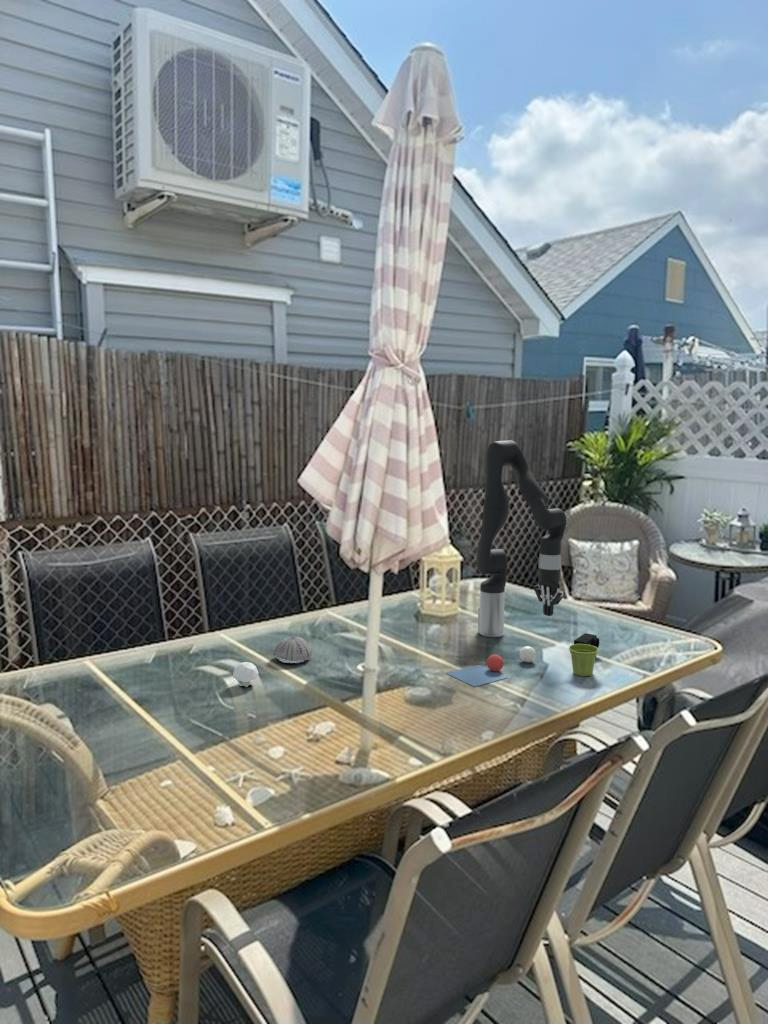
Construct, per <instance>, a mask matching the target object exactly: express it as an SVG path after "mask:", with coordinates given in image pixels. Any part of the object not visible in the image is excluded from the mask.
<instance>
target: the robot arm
mask: <svg viewBox="0 0 768 1024" xmlns="http://www.w3.org/2000/svg"><path fill="white" fill-rule="evenodd" d="M485 459H486V462H485V463H486V465H485V466H486V468H485V469H486V476H485V477H486V478H485V480H486V481H485V490H484V491H485V494H484V500H483V510H482V521H481V533H480V538H479V543H478V547H477V553H476V561H475V563H476V569H477V571H478V573H479V574H481V575H489V574H491V575H490V576H489V578H487V579H485V580H484V581H482V582H481V583H480V588H479V589H480V591H479V592H480V595H479V596H480V597H479V608H478V609H477V612H478V613H477V632H478V633H479V635H481V636H482V637H485V638H486V637H487V638H500V637H503V636H504V632H505V592H506V591H505V589H506V588H505V587H506V584H507V573H508V556H507V552H506V551H505V550H504V549H503V548H492V546H493V543H494V540H495V539H496V537H497V536H498V533H500V531H501V530H502V529H503V527H504V526H505V524H506V522H507V521H508V516H509V507H510V500H509V496H508V494H507V491H506V489H505V487H504V484H503V481H502V480H503V479H502V478H503V477H502V475H503V468H504V467H509V466H510V467H511V468H512V469H513V470H514V471H515V473H516V475H517V479H518V489H519V493H520V495H521V496H522V498H523V499H524V500H525V502H526V503H527V506H528V507H530V511H531V513H532V517H533V519H534V522H535V524H536V525H537V526H538V528H539V529H541V530H543V531H547V533H546V534H545V535H544V536H542V537H541V538H540V541H539V558H538V572H537V573H538V575H537V578H538V580H539V581H538V584H536V585H533V590H534V592H535V596H536V597H537V600H538V602H540V603H542V605H543V608H542V611H543V615H544V616H547V617H552V616H553V615H554V607H555V606H556V605H559V604H560V602H561V601H562V599H563V598H564V597H565V595H566V592H565V591H564V590H563V591H562V590H561V585H560V581H561V577H562V573H561V572H562V556H561V554H562V553H561V552H562V550H561V549H562V540H563V537H564V534H565V530H566V526H567V516H566V513H565V512H564V510H563V509H561V508H557V507H556V508H549V509H548V508H547V505H548V504H549V503H550V501H549V500H550V499H549V497H548V495H547V493H546V492H545V490H544V489H543V488H542V486H541V485H540V484H539V483H538V481H537V479H536V478H535V476H534V474H533V472H532V470H531V468H530V466H529V464H528V462H527V460H526V458H525V455H524V454H523V451H522V449H521V448H520V446H519V445H518V443H517V442H516V441H514V440H510V439H509V440H507V439H506V440H498V441H497V440H496V441H491V443H489V445H488V447H487V449H486V458H485Z"/></svg>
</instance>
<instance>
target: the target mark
mask: <svg viewBox="0 0 768 1024" xmlns="http://www.w3.org/2000/svg"><path fill="white" fill-rule="evenodd" d="M446 674H447V675H448V676H450V677H453V678H455V679H457V680H458V681H461V682H463V683H466V684H467V685H469V684H470V685H469V686H471V685H472V686H471V687H473V686H474V687H473V688H476V686H477V687H480V685H481V686H484V685H488V684H490V682H491V683H494V682H498V680H499V681H502V680H506V679H508V676H505V675H503V674H501V673H498V671H492V670H490V669H489V668H488V667H485V666H483V665H480V664H477V665H473V666H469V667H465V668H460V669H457V670H453V671H449V672H446ZM487 683H488V684H487ZM483 684H484V685H483Z"/></svg>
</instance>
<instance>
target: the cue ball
mask: <svg viewBox="0 0 768 1024" xmlns="http://www.w3.org/2000/svg"><path fill="white" fill-rule="evenodd" d="M536 656H537V652H536V650H535V649H534V647H531V646H529V645H526V646H523V647H522V648H521V649H520V650H519V658H520V659H521V660H522V661H523V662H524V663H532V662H533V661H534V660H535V659H536Z"/></svg>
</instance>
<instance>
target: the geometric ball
mask: <svg viewBox="0 0 768 1024" xmlns="http://www.w3.org/2000/svg"><path fill="white" fill-rule="evenodd" d="M232 677H233V679H234V678H235V679H236V680H239V681H242V682H248V681H251V680H254V679H256V678H257V677H259V671H258V669H257V666H256V665H255V664H254V663H252V662H248V661H243V662H241V663H238V664H237V665H236V666H235V668H234V669H233V674H232ZM257 679H258V678H257Z"/></svg>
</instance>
